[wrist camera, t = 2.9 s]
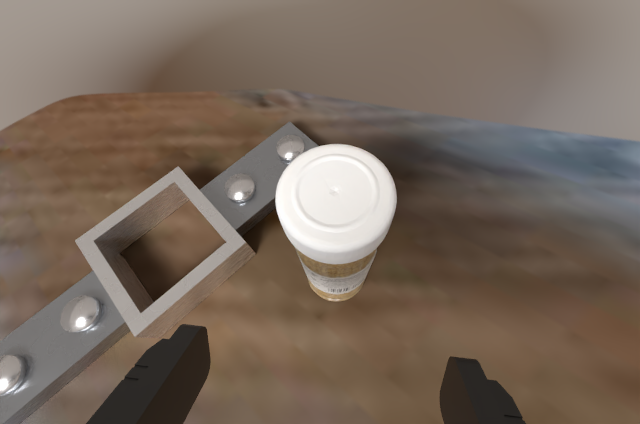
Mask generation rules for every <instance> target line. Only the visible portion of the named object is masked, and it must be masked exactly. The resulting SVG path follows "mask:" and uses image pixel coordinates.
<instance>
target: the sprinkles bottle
mask: <svg viewBox="0 0 640 424" xmlns="http://www.w3.org/2000/svg"><path fill="white" fill-rule="evenodd" d="M275 202H276V210H277V214H278V217H279V219H280V222H281V225H282V227H283V229H284V231H285V234H286V235H287V237H288V239H289V241H290V242H291V243H292V244H293V246H294V247H295V248H296V251H297V254H298V256H299V259H300V261H301V263H302V266H303V268H304V271H305V273H306V275H307V278H308V282H309V284H310V286H311V288H312V289H313V291H314V292H316V293H317V294H318V295H319V296H320V297H322V298H324V299H326V300H329V301H343V300H348V299H350V298H351V297H353V296H354V295H356V294H357V293H358V292H359V290H360V289H361V287H362V286H363V284H364V281H365V278H366V276H367V273H368V271H369V269H370V267H371V264H372V262H373V260H374V257H375V255H376V252H377V247H378V246H379V245H380V243H381V242H382V241H383V239H384V238H385V236H386V234H387V232H388V230H389V228H390V225H391V222H392V219H393V217H394V213H395V209H396V204H397V195H396V188H395V184H394V181H393V178H392V176H391V174H390V173H389V171H388V169H387V168H386V167H385V165H384V164H383V163H382V162H381V161H380V160H379V159H377V158H376V157H375V156H374V155H372V154H371V153H369V152H367V151H365V150H363V149H361V148H358V147H355V146H350V145H345V144H328V145H322V146H318V147H315V148H312V149H310V150H308V151H306V152H304V153H302V154H301V155H299V156H298V157H296V158H295V159H294V160H293V161H292V162H291V163H290V164H289V165H288V166H287V167H286V169H285V170H284V172H283V173H282V175H281V177H280V179H279V182H278V184H277V189H276V195H275Z"/></svg>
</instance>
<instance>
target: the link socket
mask: <svg viewBox="0 0 640 424" xmlns="http://www.w3.org/2000/svg"><path fill="white" fill-rule="evenodd" d="M189 200H191V202H192V203H193V204H194V205H195V206H196V207H197V208H198V210H199V211H200V212H201V213H202V214H203V215H204V217H205V218H206V219H207V220H208V221H209V222H210V224H211V225H212V226H213V227H214V228H215V229H216V230H217V232H218V233H219V234H220V235H221V236H222V237H223V239H224V240H225V241H226V243H225V244H223V245H222V246H221V247H220V248H219V249H217V250H216V251H215V252H214V253H213V254H211V255H210V256H209V257H208V258H207V259H205V260H204V261H203V262H202V263H201V264H200V265H198V266H197V267H196V268H195V269H194V270H192V271H191V272H190V273H189V274H188V275H186V276H185V277H184V278H183V279H182V280H180V281H179V282H178V283H177V284H176V285H174V286H173V287H172V288H171V289H170V290H168V291H167V292H166V293H165V294H164V295H162V296H161V297H160V298H159V299H158V300H156V301H155V302H154V301H153V300H152V298H151V297H150V295H149V294H148V292H147V291H146V290H145V288H144V287H143V285H142V284H141V282H140V281H139V279H138V278H137V276H136V275H135V273H134V272H133V270H132V269H131V268H130V266H129V265H128V263H127V262H126V260H125V259H124V257H123V256H122V254H121V253H120V252H122V251H123V250H124V249H126V248H127V247H128V246H130V245H131V244H132V243H134V242H135V241H136V240H138V239H139V238H140V237H141V236H143V235H144V234H145V233H147V232H148V231H149V230H151V229H152V228H153V227H155V226H156V225H157V224H159V223H160V222H161V221H162V220H164V219H165V218H166V217H168V216H169V215H170V214H172V213H173V212H174V211H176V210H177V209H178V208H180V207H181V206H182V205H183V204H185V203H186V202H187V201H189ZM75 242H76V243H77V245H78V247H79V248H80V250H81V251H82V253H83V255H84V256H85V258H86V259H87V261H88V263H89V264H90V266H91V267H92V269H93V271H94V272H95V274H96V275H97V277H98V279H99V280H100V282H101V284H102V285H103V287H104V288H105V290H106V292H107V293H108V295H109V296H110V298H111V300H112V301H113V303H114V304H115V306H116V308H117V309H118V311H119V312H120V314H121V316H122V317H123V319H124V320H125V322H126V324H127V325H128V327H129V329H130V330H131V332H132V333H133V335H134V337H147V338H161V337H162V336H163V335H164V334H165V333H166V332H168V331H169V330H170V329H171V328H172V327H173V326H174V325H176V324H177V323H178V322H179V321H180V320H181V319H182V318H184V317H185V316H186V315H187V314H188V313H189V312H190V311H192V310H193V309H194V308H195V307H196V306H197V305H198V304H200V303H201V302H202V301H203V300H204V299H205V298H206V297H208V296H209V295H210V294H211V293H212V292H213V291H214V290H216V289H217V288H218V287H219V286H220V285H221V284H222V283H224V282H225V281H226V280H227V279H228V278H229V277H230V276H232V275H233V274H234V273H235V272H236V271H237V270H238V269H240V268H241V267H242V266H243V265H244V264H245V263H246V262H248V261H249V260H250V259H251V258H252V257H253V256H254V255H256V253H255V252H254V251H253V250H252V249H251V247H250V246H249V245H248V244H247V243H246V242H245V241H244V239H243V238H242V237H241V236H240V235H239V234H238V233H237V232H236V230H235V229H234V228H233V227H232V226H231V225H230V224H229V223H228V221H227V220H226V219H225V218H224V217H223V216H222V215H221V214H220V213H219V211H218V210H217V209H216V208H215V207H214V206H213V205H212V204H211V202H210V201H209V200H208V199H207V198H206V197H205V196H204V195H203V194H202V192H201V191H200V190H199V189H198V188H197V187H196V186H195V185H194V183H193V182H192V181H191V180H190V179H189V178H188V177H187V176H186V175H185V173H184V172H183V171H182V170H181V169H180V168H179V167H177V168H175V169H174V170H173V171H171V172H170V173H168V174H167V175H166V176H164V177H163V178H161V179H160V180H159V181H157V182H156V183H154V184H153V185H152V186H150V187H149V188H148V189H146V190H145V191H143V192H142V193H141V194H139V195H138V196H136V197H135V198H134V199H132V200H131V201H129V202H128V203H127V204H125V205H124V206H123V207H121V208H120V209H118V210H117V211H116V212H114V213H113V214H111V215H110V216H109V217H107V218H106V219H104V220H103V221H102V222H100V223H99V224H98V225H96V226H95V227H93V228H92V229H91V230H89V231H88V232H86V233H85V234H84V235H82V236H81V237H79V238H78V239H77V240H75Z"/></svg>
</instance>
